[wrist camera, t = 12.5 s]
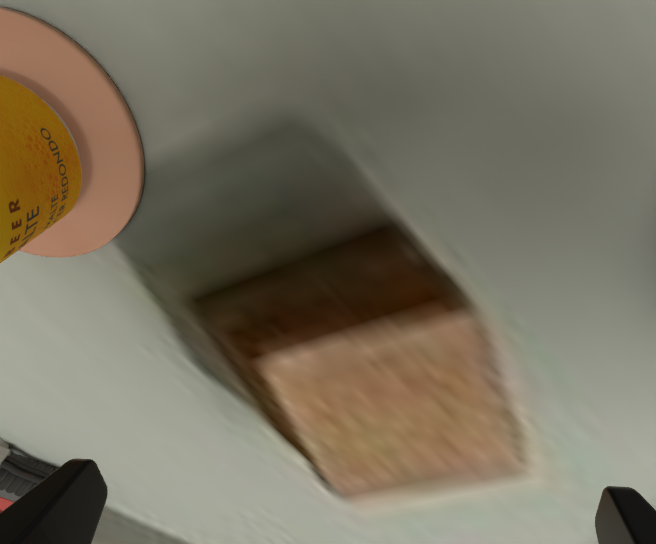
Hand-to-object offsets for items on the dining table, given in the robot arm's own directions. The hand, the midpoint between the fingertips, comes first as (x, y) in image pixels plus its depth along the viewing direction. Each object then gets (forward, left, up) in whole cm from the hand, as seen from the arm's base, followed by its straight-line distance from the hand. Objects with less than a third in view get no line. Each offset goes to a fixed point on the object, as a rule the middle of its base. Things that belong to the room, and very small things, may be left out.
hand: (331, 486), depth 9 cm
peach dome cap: (+14, -3, -13) cm, 19 cm away
